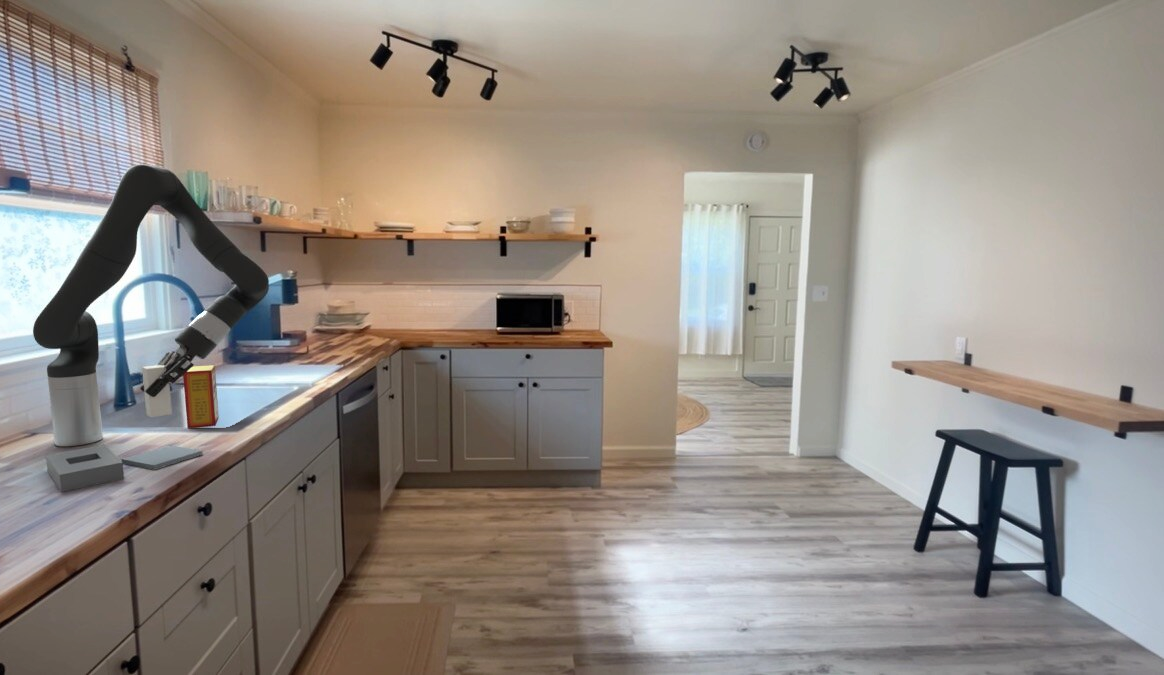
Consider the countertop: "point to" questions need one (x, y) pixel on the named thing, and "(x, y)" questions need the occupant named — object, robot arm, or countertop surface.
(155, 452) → the mat
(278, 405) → the countertop surface
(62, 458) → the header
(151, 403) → the tall cream white pillar
